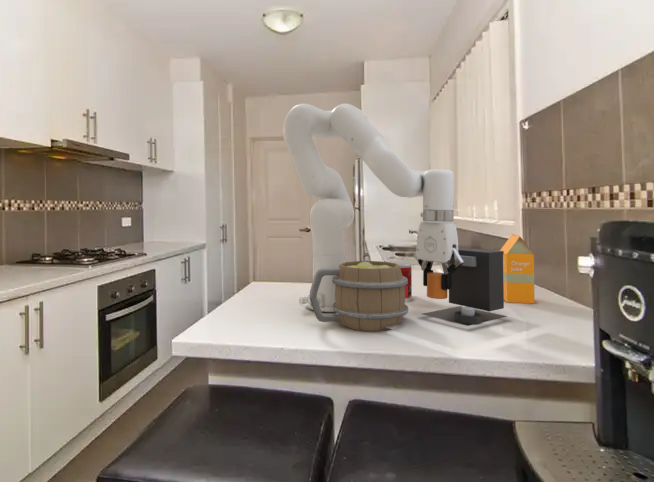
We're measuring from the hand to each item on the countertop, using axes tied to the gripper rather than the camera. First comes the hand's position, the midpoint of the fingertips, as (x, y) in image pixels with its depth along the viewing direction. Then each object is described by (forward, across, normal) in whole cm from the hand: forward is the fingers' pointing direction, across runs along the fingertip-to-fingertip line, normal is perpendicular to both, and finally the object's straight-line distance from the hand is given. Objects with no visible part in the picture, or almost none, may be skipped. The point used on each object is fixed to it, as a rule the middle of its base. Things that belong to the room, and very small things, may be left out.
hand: (437, 286), depth 117 cm
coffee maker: (+5, +4, +9) cm, 12 cm away
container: (+3, 0, 0) cm, 3 cm away
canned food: (+9, -23, +10) cm, 27 cm away
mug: (+9, -8, -20) cm, 23 cm away
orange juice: (+8, -2, +39) cm, 40 cm away
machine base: (+8, +4, +5) cm, 11 cm away
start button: (+6, +9, +1) cm, 10 cm away
